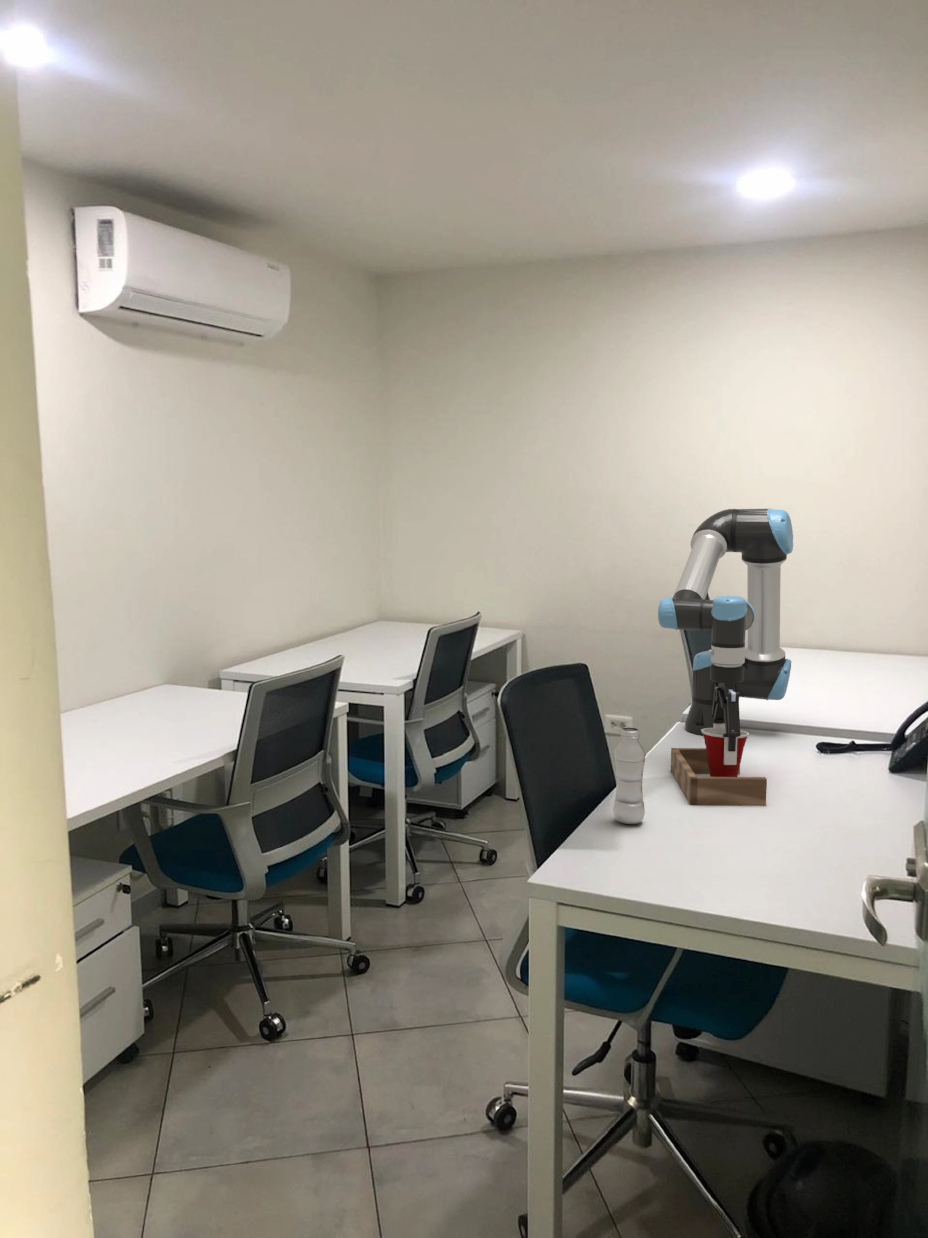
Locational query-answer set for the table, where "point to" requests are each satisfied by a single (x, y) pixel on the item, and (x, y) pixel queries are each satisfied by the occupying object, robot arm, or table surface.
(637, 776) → the plastic bottle
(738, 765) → the plastic cup
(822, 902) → the table surface
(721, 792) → the box
